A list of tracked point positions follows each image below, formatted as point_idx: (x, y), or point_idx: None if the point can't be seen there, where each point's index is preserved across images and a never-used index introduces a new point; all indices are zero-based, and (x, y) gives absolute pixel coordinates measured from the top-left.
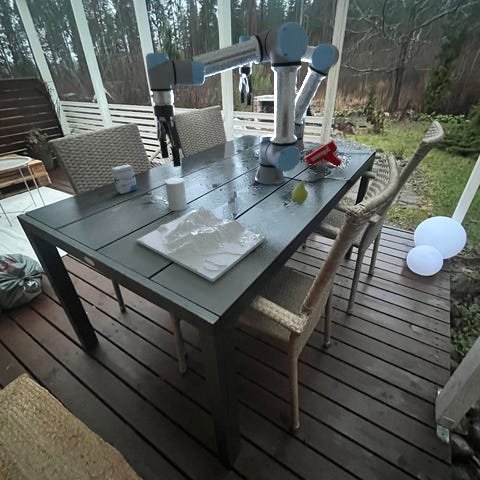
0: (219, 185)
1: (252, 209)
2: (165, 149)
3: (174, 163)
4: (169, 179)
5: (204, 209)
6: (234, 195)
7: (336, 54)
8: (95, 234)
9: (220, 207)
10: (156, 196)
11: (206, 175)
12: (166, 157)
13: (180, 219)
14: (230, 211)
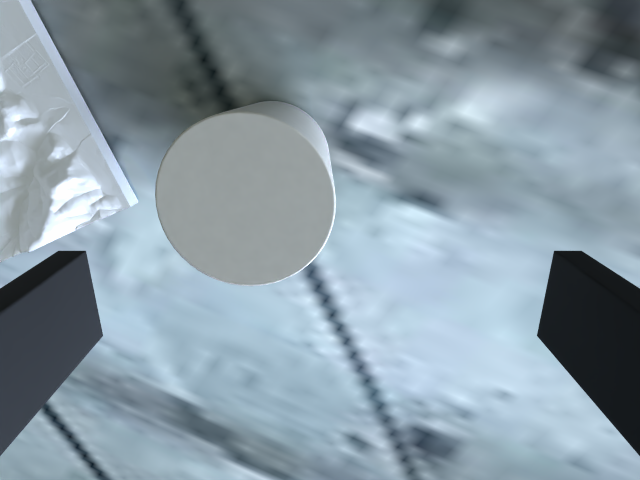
0: (421, 462)
1: (63, 449)
2: (625, 390)
3: (29, 279)
4: (300, 176)
5: (23, 251)
6: (253, 461)
7: None
8: None
9: (151, 348)
10: (522, 93)
11: (609, 472)
12: (546, 309)
13: (40, 91)
14: (84, 366)
